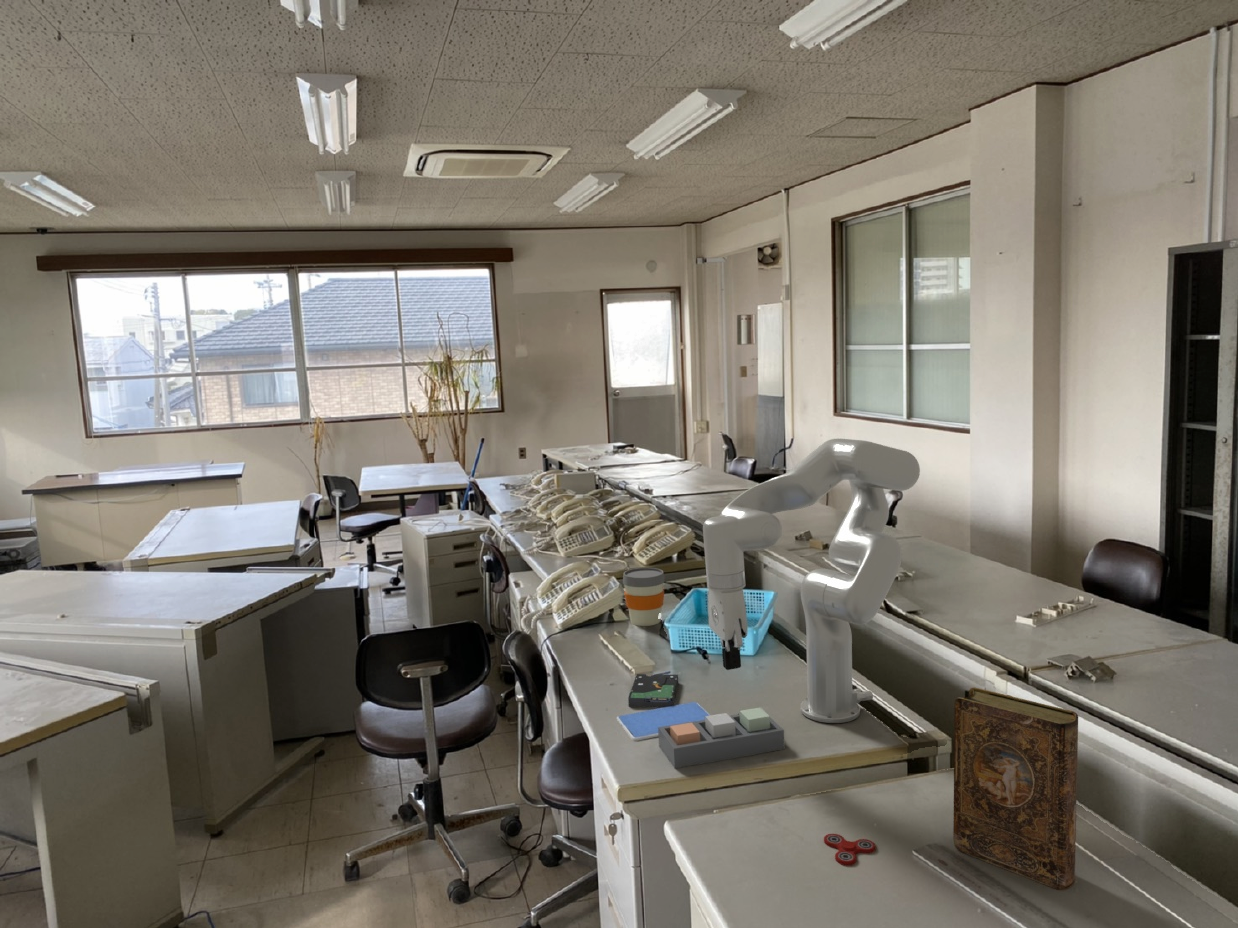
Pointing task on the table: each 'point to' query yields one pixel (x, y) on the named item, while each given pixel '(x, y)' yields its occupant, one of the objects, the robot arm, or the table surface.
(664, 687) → the disk drive
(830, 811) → the table surface
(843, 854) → the fidget spinner
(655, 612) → the reusable coffee cup
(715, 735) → the grey key
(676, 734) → the terracotta key
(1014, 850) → the book
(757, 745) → the grey compartment tray
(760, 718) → the sage key
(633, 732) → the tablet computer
